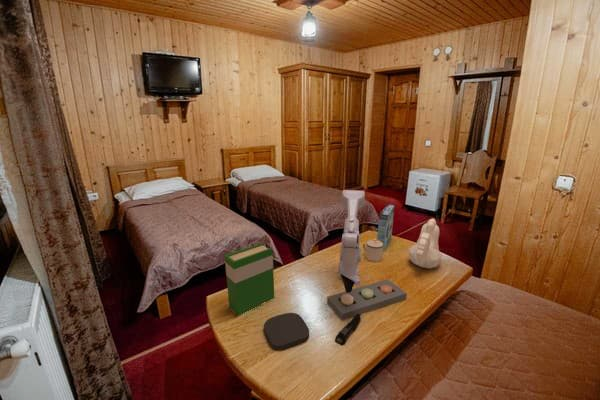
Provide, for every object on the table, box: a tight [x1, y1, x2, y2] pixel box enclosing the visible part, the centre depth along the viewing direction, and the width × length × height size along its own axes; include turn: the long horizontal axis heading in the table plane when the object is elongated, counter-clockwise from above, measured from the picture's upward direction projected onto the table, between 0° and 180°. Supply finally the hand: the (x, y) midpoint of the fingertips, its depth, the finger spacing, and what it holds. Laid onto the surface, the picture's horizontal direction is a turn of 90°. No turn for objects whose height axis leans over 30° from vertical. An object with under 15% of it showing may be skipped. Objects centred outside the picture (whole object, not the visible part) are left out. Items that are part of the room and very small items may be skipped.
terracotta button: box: [380, 285, 392, 294], centre depth 124 cm, size 5×5×2 cm
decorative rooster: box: [407, 218, 442, 270], centre depth 145 cm, size 25×16×25 cm, turn 133°
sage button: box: [361, 288, 374, 300], centre depth 120 cm, size 5×5×2 cm
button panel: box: [326, 278, 408, 321], centre depth 121 cm, size 12×32×3 cm, turn 114°
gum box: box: [376, 204, 395, 253], centre depth 170 cm, size 20×5×23 cm, turn 151°
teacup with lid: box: [362, 238, 384, 263], centre depth 157 cm, size 12×9×12 cm
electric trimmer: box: [334, 314, 362, 346], centre depth 104 cm, size 4×16×3 cm, turn 142°
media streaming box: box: [263, 312, 310, 351], centre depth 104 cm, size 15×15×3 cm
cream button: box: [341, 294, 354, 307], centre depth 117 cm, size 5×5×2 cm
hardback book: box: [224, 242, 275, 317], centre depth 117 cm, size 18×7×24 cm, turn 130°
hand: (348, 291), depth 115 cm, fingers closed
